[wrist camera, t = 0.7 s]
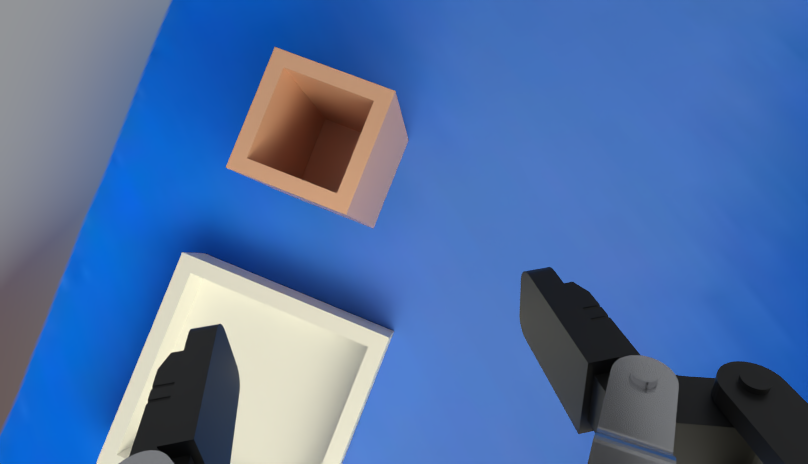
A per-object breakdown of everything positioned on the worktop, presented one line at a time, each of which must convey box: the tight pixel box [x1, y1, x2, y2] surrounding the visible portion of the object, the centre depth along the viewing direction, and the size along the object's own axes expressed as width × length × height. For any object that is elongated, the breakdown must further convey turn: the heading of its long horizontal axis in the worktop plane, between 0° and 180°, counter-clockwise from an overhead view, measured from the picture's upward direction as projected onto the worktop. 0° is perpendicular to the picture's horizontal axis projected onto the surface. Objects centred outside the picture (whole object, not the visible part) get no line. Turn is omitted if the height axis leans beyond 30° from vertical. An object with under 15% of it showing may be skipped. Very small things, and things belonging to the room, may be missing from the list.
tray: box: [96, 252, 394, 464], centre depth 33 cm, size 14×14×3 cm
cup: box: [226, 47, 408, 228], centre depth 30 cm, size 6×6×10 cm
